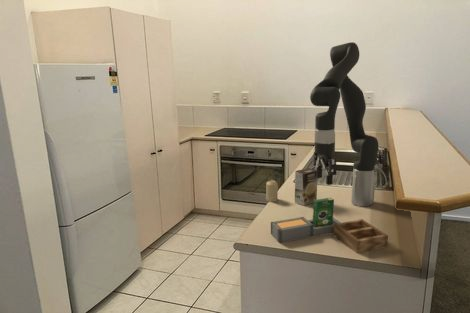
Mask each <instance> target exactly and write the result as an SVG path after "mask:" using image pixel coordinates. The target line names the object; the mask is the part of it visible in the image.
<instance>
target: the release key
mask: <svg viewBox="0 0 470 313" xmlns="http://www.w3.org/2000/svg"><path fill="white" fill-rule="evenodd" d="M306 224H307V223H305V222H304V221H303V220H302V219H300V220H294V221H288V222H282V223H276V225H277V226H278V227H279V228H280V229H283V228H288V227H294V226H300V225H306Z"/></svg>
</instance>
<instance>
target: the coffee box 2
mask: <svg viewBox="0 0 470 313" xmlns="http://www.w3.org/2000/svg"><path fill="white" fill-rule="evenodd" d="M334 205H335V199H334V198H332V197H325V198H319V199H318V198H317V200H314V203H313V212H312V213H313V215H312V219H313V227H321V226H326V225H332V224H333V218H334V208H335V207H334Z"/></svg>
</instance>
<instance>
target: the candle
mask: <svg viewBox="0 0 470 313" xmlns="http://www.w3.org/2000/svg"><path fill="white" fill-rule="evenodd" d="M278 185H279V184H278V182H277V181H276V180H274V179H271V180H268V181H267V182H266V186H265V188H266V193H265V194H266V196H265V197H266V201H268V202H277V201H278V192H279V191H278Z"/></svg>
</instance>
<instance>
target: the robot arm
mask: <svg viewBox="0 0 470 313" xmlns="http://www.w3.org/2000/svg"><path fill="white" fill-rule="evenodd" d="M329 57H330V61H331V65H332V67H331V68H330V69H329V70H328V71H327V72H326V74H325V76H324V78H323V80H321V81H320V82H319V83H317V85H315V86H314V87H313V88H312V90H311V92H310V96H309V99H310V102H311V104H312V105H313V106H315V107H328V109H327V111H322V112H319V113H316V115H315V123H314V124H315V127H314V128H315V130H314V152H313V166H314V167H315V170H316V177H317V179H321V178H323V171H325V174H326V177H325V178H326V180H325V181H326V183H325V185H327V186H331V185H333V178H334V176H336V175H337V159H336V158H334V159H333V158H332V155H333V154H335V152H336V132H335V130H336V129H335V125H336V124H335V123H336V115H337V110H338V106H339V103H340V101H341V102H342V105H343V109H344V110H343V111H344V113H345V117H346V121H347V125H348V131H349V132H348V133H349V140H350V145H351V149H352V150H353V152H355V153H357V154H359V155H360V158H359V160H356V161H354V162H353V166H352V167H353V169H352V170H353V171H352V188H351V204H353V205H354V206H358V207H369V206H372V205H374V204H375V203H374V202H375V188H376V185H375V184H374V181H375V180H374V177H375V167H376V164H377V162H378V154H379V140H378V139H377V138H376V137H375V136H372V135H368V134H366V132H365V129H364V125H363V124H364V123H363V121H364V116H365V113H366V110H367V109H366V108H367V105H366V100H365V95H364V93H363V90H362V89H361V88H360V87H359V86H358V85H357V84H356V83H355V82H354V81H353V80H352V79H351V78H350V77H349V76H348V75H349V73H350V72H351V71H352V69H353V68H354V67H355V66H356V64H358V63H359V59H360V49H359V46H358V44H357V43H356V42H345V43H343V44H339V45H335V46H332V47H331V48H330V52H329Z"/></svg>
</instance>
